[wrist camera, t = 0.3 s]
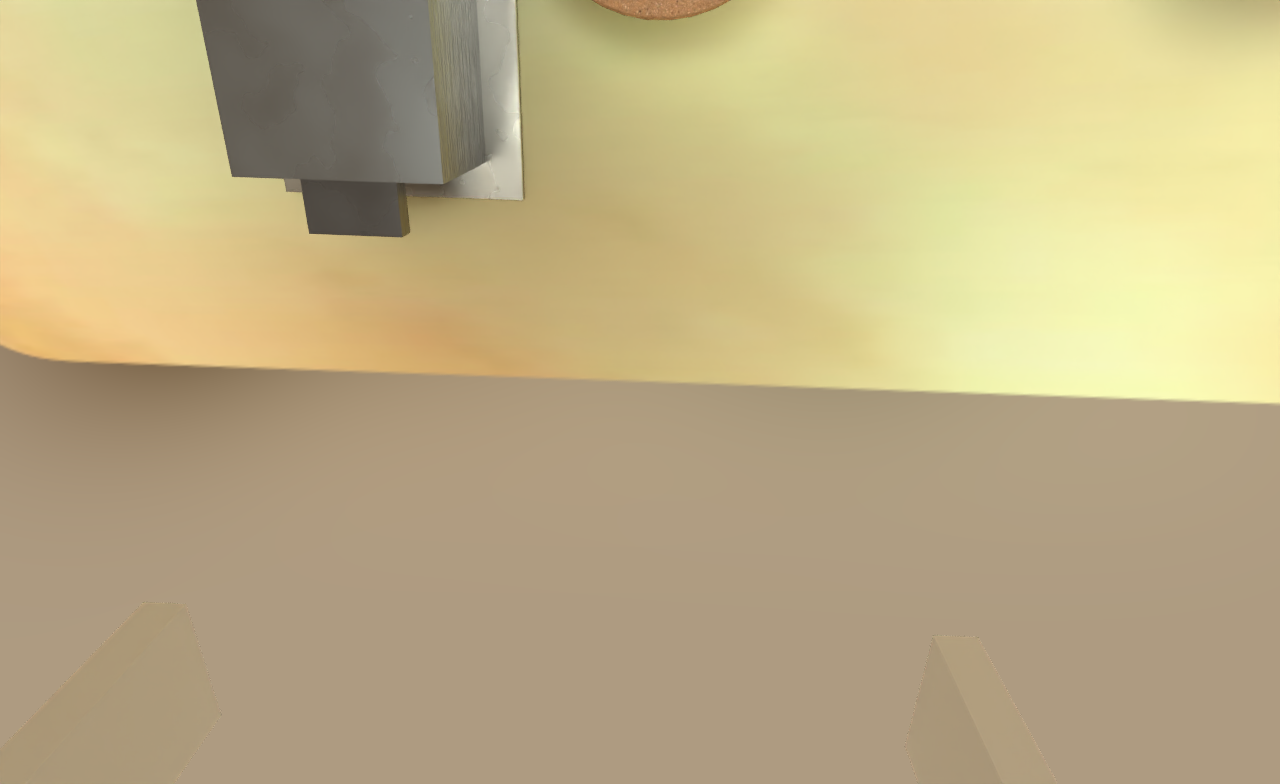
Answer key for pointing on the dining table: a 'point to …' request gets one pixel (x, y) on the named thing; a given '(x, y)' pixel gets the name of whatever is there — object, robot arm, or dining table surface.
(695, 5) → the lidded jar
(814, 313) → the dining table surface
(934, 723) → the robot arm
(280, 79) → the metal cube on plate
